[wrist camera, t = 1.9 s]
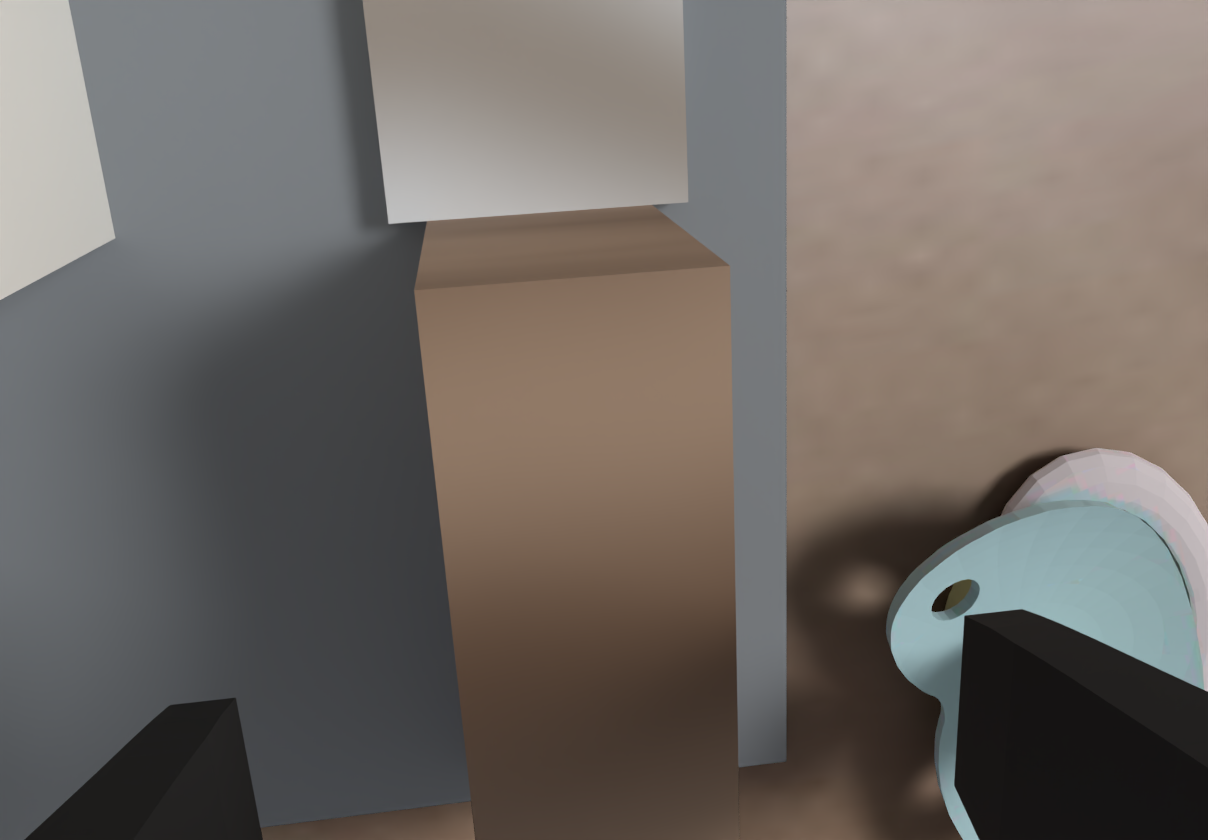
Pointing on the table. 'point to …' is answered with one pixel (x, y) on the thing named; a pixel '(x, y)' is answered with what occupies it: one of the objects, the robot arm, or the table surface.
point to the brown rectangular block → (571, 409)
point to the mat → (303, 415)
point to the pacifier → (1063, 581)
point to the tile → (45, 147)
